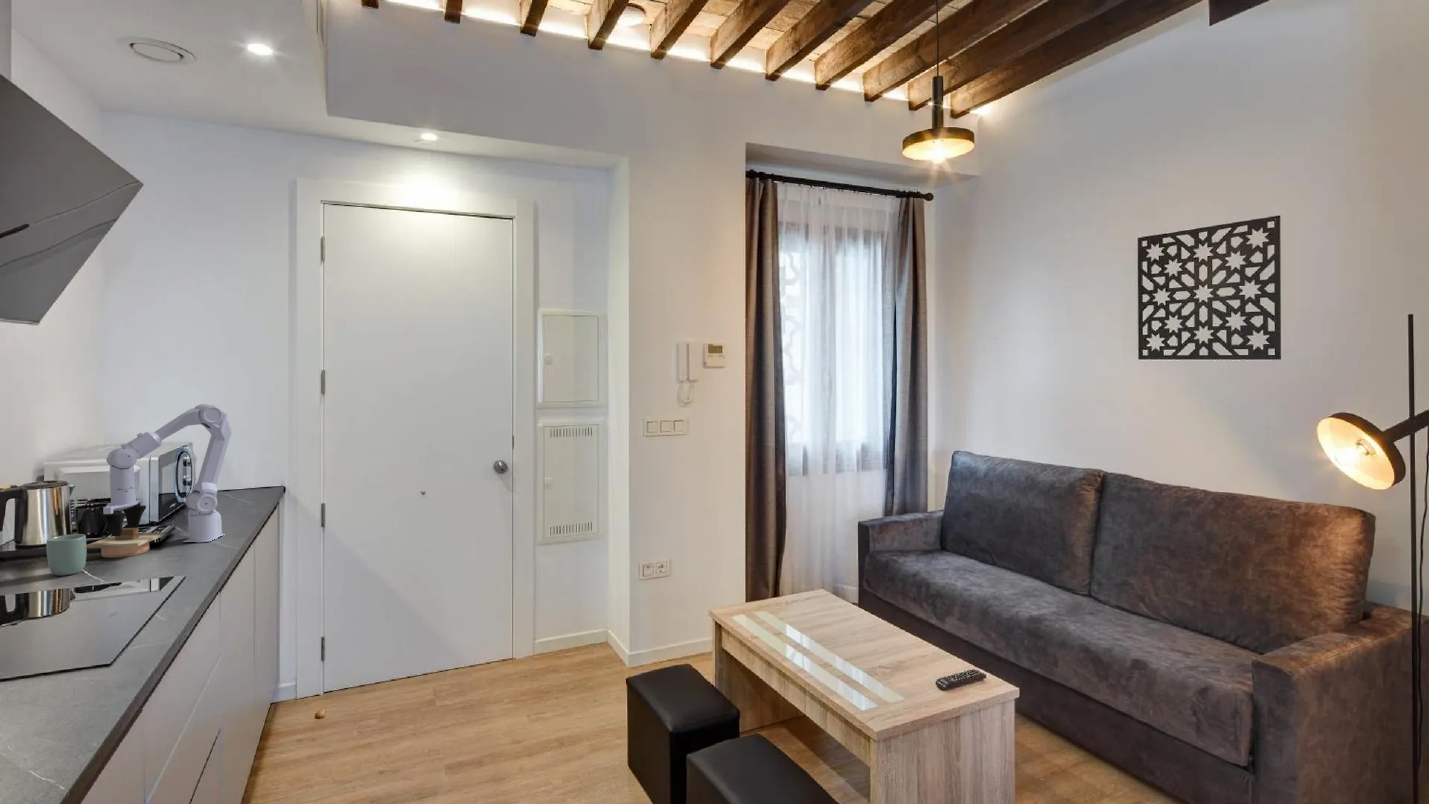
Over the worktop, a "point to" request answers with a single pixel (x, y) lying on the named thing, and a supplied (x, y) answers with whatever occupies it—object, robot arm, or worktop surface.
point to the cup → (66, 554)
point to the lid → (126, 539)
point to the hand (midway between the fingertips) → (125, 532)
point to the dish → (124, 551)
